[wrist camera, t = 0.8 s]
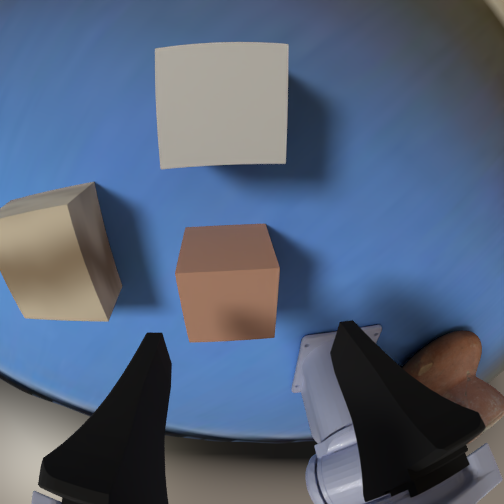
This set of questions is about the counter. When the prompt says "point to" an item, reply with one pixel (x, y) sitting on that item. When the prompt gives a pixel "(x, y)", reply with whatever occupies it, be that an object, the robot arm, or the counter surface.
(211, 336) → the terracotta cube
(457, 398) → the ceramic jug
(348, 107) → the counter surface
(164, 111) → the grey block
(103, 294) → the birch plinth
